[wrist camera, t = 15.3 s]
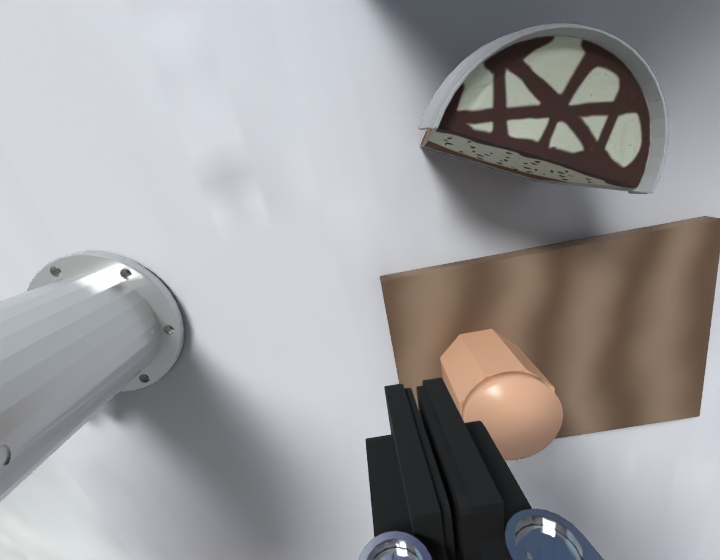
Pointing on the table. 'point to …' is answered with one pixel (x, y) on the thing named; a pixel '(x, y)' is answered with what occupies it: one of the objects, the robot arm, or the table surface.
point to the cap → (502, 392)
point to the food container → (554, 110)
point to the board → (577, 319)
